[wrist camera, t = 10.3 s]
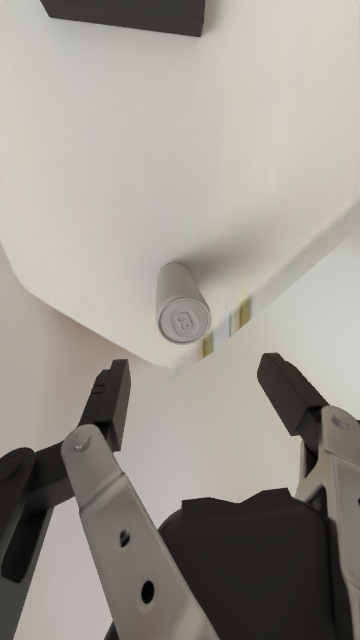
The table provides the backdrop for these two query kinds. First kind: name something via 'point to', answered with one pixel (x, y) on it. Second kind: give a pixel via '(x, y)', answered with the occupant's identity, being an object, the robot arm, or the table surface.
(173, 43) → the table surface
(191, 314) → the beverage can
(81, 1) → the scale
